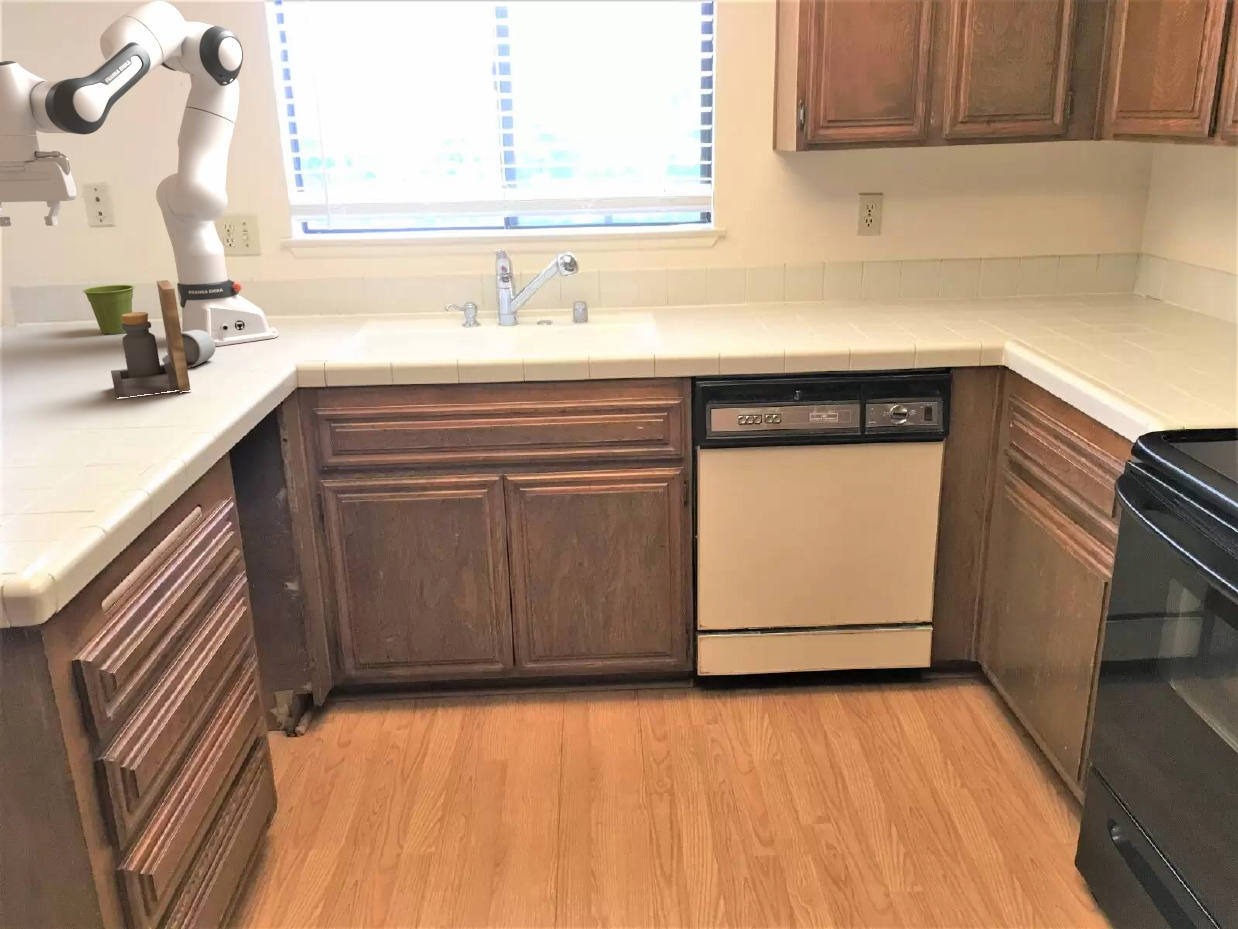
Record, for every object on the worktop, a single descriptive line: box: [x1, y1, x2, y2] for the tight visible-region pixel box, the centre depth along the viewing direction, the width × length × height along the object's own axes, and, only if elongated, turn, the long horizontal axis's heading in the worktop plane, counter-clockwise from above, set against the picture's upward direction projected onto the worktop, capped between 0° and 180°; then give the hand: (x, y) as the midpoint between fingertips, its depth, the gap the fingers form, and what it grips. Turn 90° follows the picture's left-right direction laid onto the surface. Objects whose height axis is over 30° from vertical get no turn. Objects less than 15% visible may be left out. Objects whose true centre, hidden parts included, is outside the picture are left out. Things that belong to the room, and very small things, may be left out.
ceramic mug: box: [161, 330, 216, 369], centre depth 218 cm, size 11×8×8 cm
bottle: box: [121, 311, 162, 378], centre depth 195 cm, size 6×6×15 cm
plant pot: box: [82, 284, 135, 335], centre depth 256 cm, size 12×12×11 cm
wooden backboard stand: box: [110, 279, 192, 399], centre depth 195 cm, size 13×14×20 cm
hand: (28, 225), depth 197 cm, fingers open, 8 cm apart
